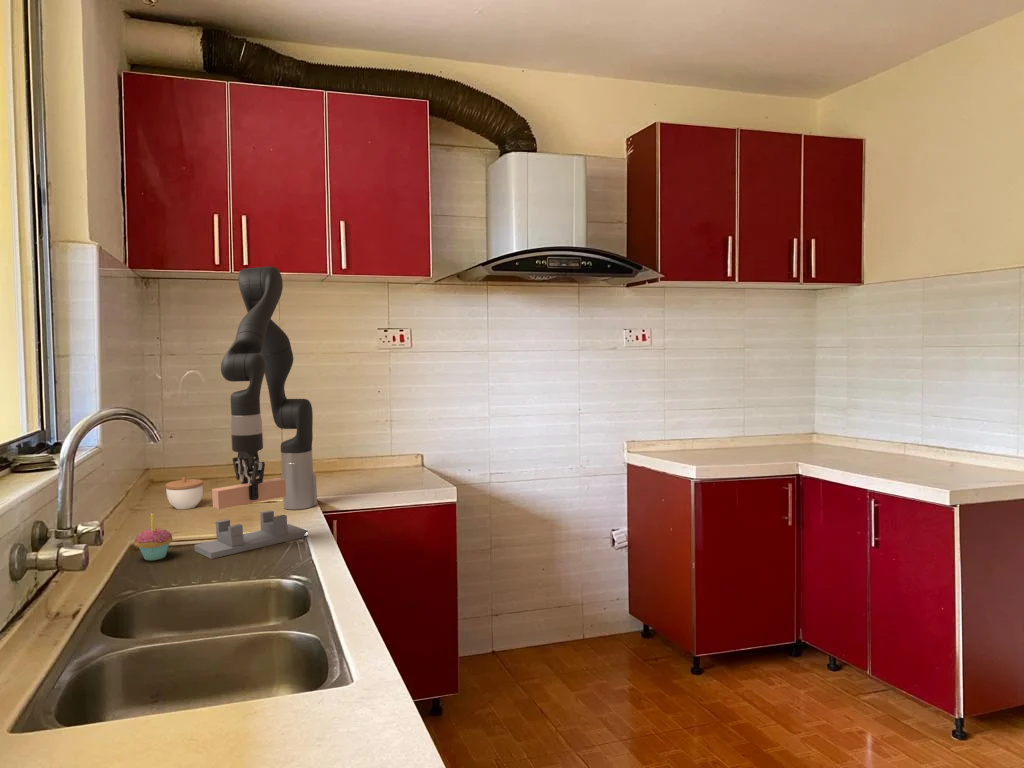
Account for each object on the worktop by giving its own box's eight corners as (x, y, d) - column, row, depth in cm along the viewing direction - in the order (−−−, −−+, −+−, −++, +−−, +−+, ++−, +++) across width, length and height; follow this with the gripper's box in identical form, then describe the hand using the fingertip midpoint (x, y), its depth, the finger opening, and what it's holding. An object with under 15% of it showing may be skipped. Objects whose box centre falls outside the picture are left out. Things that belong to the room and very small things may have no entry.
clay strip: (279, 494, 207) (278, 477, 206) (285, 496, 204) (285, 479, 204) (212, 506, 194) (211, 489, 194) (218, 509, 192) (217, 491, 191)
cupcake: (175, 559, 188) (172, 510, 187) (136, 565, 184) (133, 515, 183) (171, 550, 196) (168, 503, 195) (134, 556, 192) (130, 508, 191)
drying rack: (289, 529, 213) (288, 506, 212) (308, 536, 206) (307, 512, 205) (194, 550, 195) (193, 525, 194) (211, 559, 188) (209, 532, 187)
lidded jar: (210, 506, 242) (208, 476, 241) (175, 513, 234) (173, 482, 233) (195, 501, 249) (194, 472, 249) (161, 507, 242) (159, 477, 241)
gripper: (273, 432, 195) (277, 500, 197) (248, 427, 206) (251, 492, 207) (245, 436, 190) (248, 505, 192) (220, 431, 200) (224, 497, 202)
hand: (250, 498), depth 199 cm, fingers closed on clay strip, 3 cm apart
